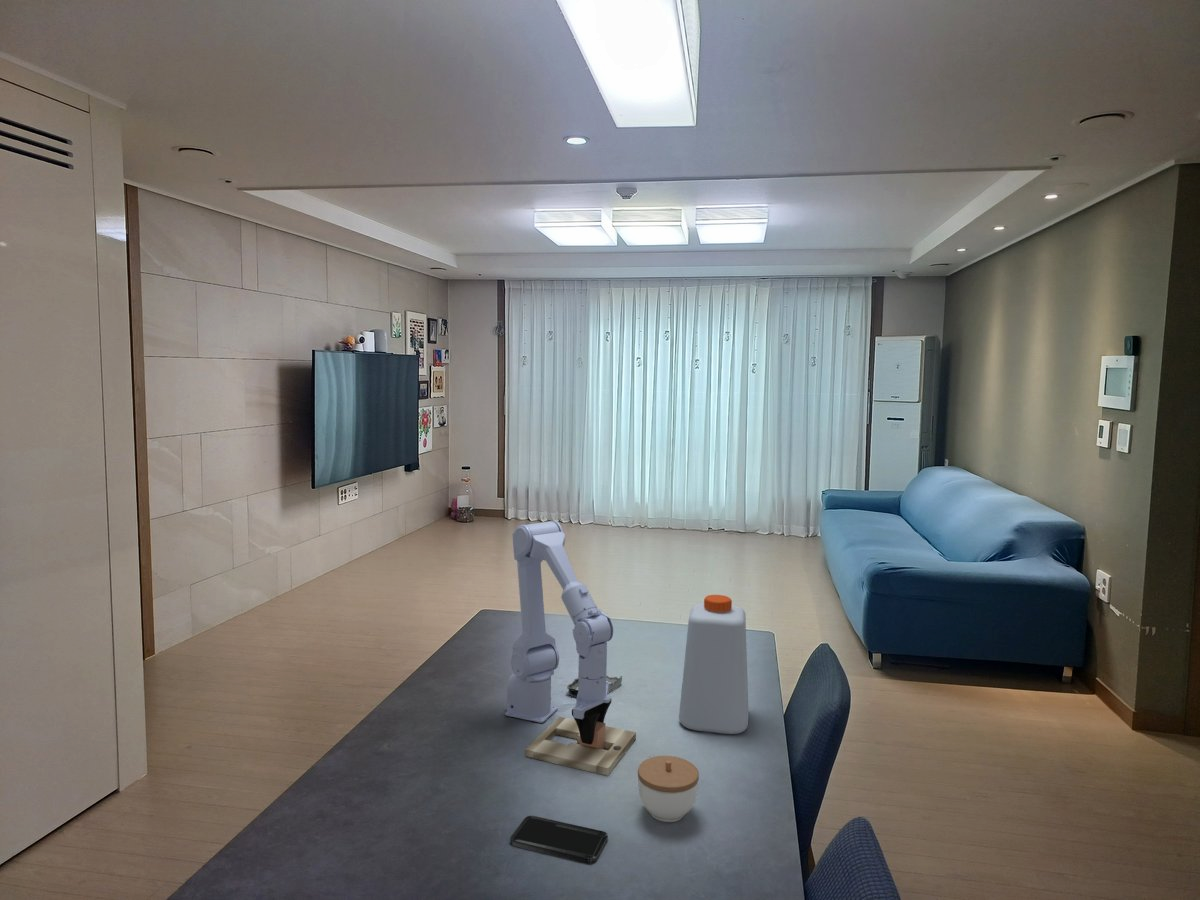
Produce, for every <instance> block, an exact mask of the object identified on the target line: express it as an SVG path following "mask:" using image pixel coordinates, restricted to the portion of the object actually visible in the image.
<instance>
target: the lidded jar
mask: <svg viewBox="0 0 1200 900" xmlns="http://www.w3.org/2000/svg"><path fill="white" fill-rule="evenodd" d="M699 773H700V772H699V769H698V768H697V766H696V765H695V764H693V763H692V762H691V761H689V760H688V759H687V760H686V758H685V759H684V758H681V757H679V756H678V757H677V756H674V755H673V756H672V755H658V756H652V757H648V758H646V759H644V760H643V761H641V763H640V764H639V765H638V767H637V777H638V778H637V779H638V780H637V785H638V795H639V797H640V801H641V803H642V805H643V807H644V808H645V809H646V810H647V812H648V813H650V816H652V818H653V819H655V820H657V821H659V822H663V823H675V822H678V821H680V820H682V819H683V817H684V816H685V815H687V814H688V813H689V812H690V811H691V809H692V807H694V804H695V802H696V800H697V799H696V798H697V796H698V789H699V788H698V787H699V786H698V785H699V783H698V782H699V779H700V777H699V776H700V774H699Z"/></svg>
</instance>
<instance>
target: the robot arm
mask: <svg viewBox="0 0 1200 900" xmlns="http://www.w3.org/2000/svg"><path fill="white" fill-rule="evenodd" d="M565 544H566V534H565V533H564V530H563V527H562V525H561V523H559V521H557V520H550V521H545V522H544V521H543V522H537V523H529V524H519V525H517V526H516V528H515V530H514V531H513V533H512V546H513V548H512V549H513V558H514V560H515V561H516V564H517V565H516V567H517V577H518V578H517V579H518V591H519V604H520V606H519V607H520V617H521V628H522V629H521V630H522V631H521V634H520V635H519V637H518V638H517V639H516V640H515V641H514V642H513V643H512V645H511V647H512V651H511V658H510V666H511V669H512V673H511V674H510V676H509V679H508V681H507V686H506V687H507V688H506V689H507V690H506V691H507V695H506V696H507V697H506V699H507V700H506V703H507V705H506V706H507V707H506V708H507V709H506V712H505V716H508V717H511V718H512V717H513V718H516V719H519V720H520V719H521V720H525V721H531V722H534V723H535V722H536V723H541V724H543V723H545V722H546V721H547V720H548V719H549V718H550V717H551V716H552V715H554V713H555V712H556V711H557V710H558V709H559V707H558V706H555V705H551V704H552V703H551V702H552V701H551V700H552V676H554V675H555V670H556V669H558V666H559V663H560V653H559V650H558V649H557V648H558V647H557V644H556V638H555V637H554V636H552V635H551V634H549V633H548V632H547V630H546V629H547V628H546V619H545V608H544V607H545V605H544V591H543V589H544V588H543V579H542V577H543V576H542V567H541V566H542V564H541V563H542V562H543V561H545V562H546V563H547V565H548V567H549V568H550V570H551V572H552V573H553V575H554V577H555V578H556V580H557V581H558V584H559V586H560V587H561V589H562V593H561V597H560V598H561V601H562V602H563V605H564V606H565V609H566V610H567V612H568V615H569V617H570V618H571V620H572V623H573V624H574V627H573V629H572V636H573V639H574V641H575V645H576V646H575V647H576V648H575V649H576V652H577V654H578V677H577V678H578V688H577V690H578V694H577V697H576V701H575V706H574V707H573V708H572V709H571V716H572V719H574V720H575V721H576V723H577V726H578V729H579V732H580V737H581V741H582V743H586V744H592V742H593V739H594V732H595V726H596V722H602V723H605V718H606V715H607V712H608V709H609V708H610V706H611V703H612V696H611V695H608V694H609V693H610V692H609V686H610V684H611V683H610V682H606V676H607V668H608V667H607V665H608V664H607V663H608V662H607V660H608V656H607V655H608V642H610V641H611V640H612V639H613V637H614V625H613V622H612V621H611V617H610V616H609V615H608V614H607V613H605V612H603V610H602V609H600V608H598V606H597V604H596V603H595V600H594V599H593V597H592V595H591V593H590V590H589V589H588V587H587V585H586V584H584V583H581V582H579V581H578V579H577V576H576V574H575V571H574V568H573V567H572V564H571V561H570V559H569V557H568V554H567V551H566V549H565ZM608 692H609V693H608Z"/></svg>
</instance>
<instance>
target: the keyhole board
mask: <svg viewBox="0 0 1200 900" xmlns="http://www.w3.org/2000/svg"><path fill="white" fill-rule="evenodd" d="M559 735H560V737H565V738H569V739H573V738H574V739H573V740H577V741H576V743H575V742H570V743H569V744H565V743H560V742H556V741H552V739H553V738H554V737H555V736H559ZM636 739H637V732H635V731H631V730H626V729H622V728H618V727H617V728H616V727H613V726H612V727H611V726H608V725H606V727H605V740H604V749H599V748H595V747H590V746H585V745H581V744H580V732H579V729H578V726H577V723H576V721H575V719H574V718H568V717H565V716H558V717H557V718H555V720H554V721H553V722H551V724H549V726H547V727H546V728H545V729H544V730H543V731H542V733H541V734H539V735H538V736H537V737H536V738H535V739H534V740H533V741H532V742H531V743H529V745H528V746H527V747H526V748H525V749H524V757H525V756H528V757H527V758H530V757H532V758H531V759H534V758H535V759H534V760H538V759H540V761H542V760H543V761H544V762H546V763H551V764H557V765H560V766H564V767H570V768H573V769H578V770H583V771H586V772H591V773H596V774H599V775H603V776H609V775H610V774H611V773H612V771H613V770H614V769H615V767H616V766H617V765H618V763H619V762H620V761H621V759H622V758H623V757H624V756H625V754H626V753H627V751H628V750H629V749H630V747H631V746H632V745H631V744H633V743H634V742H635V741H636ZM634 740H635V741H634ZM633 741H634V742H633ZM630 745H631V746H630ZM605 748H606V749H605ZM628 748H629V749H628ZM627 749H628V750H627ZM625 752H626V753H625Z"/></svg>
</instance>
